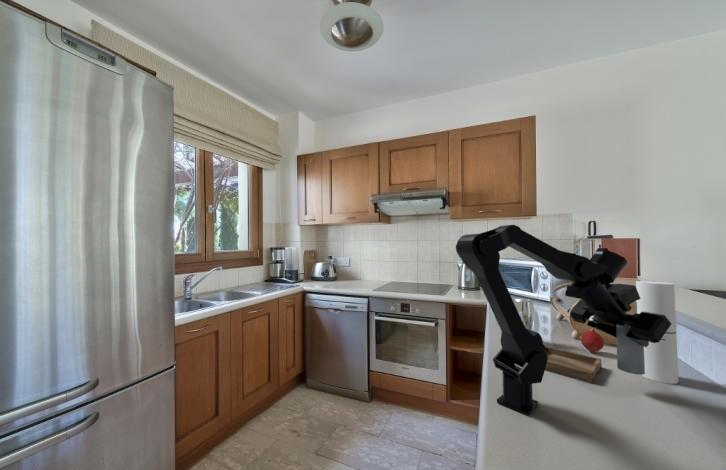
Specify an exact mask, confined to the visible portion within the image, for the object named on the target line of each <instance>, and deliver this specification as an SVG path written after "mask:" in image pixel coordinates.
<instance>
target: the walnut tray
mask: <svg viewBox="0 0 726 470" xmlns="http://www.w3.org/2000/svg"><path fill="white" fill-rule="evenodd" d="M545 347H546V348H547V349H548V351H546V353H547V357H548V361H547V364H546V368H545V371H546V372H550V373H554V374H557V375H560V376H564V377H568V378H571V379H575V380H577V381H582V382H584V383H588V384H590V385H591V384H593V382H594V381H595V379H596V378H597V376H598V375H599V373H600V371H602V359H601V358H598V357H593V356H589V355H585V354H581V353H577V352H572V351H569V350H565V349H561V348H554V347H551V346H547V345H545Z"/></svg>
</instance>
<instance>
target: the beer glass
mask: <svg viewBox="0 0 726 470" xmlns="http://www.w3.org/2000/svg"><path fill="white" fill-rule="evenodd" d="M512 300H513V302H514V304H515V306H516V308H517V311H518V313H519V315H520V317H521V319H522V322H523V324H524V326H525V328H526V329H529V330H532V331H533V326H534V320H535V307H534V306H535V305H534V301H533V300H532V299H529V298H520V297H518V298H512Z"/></svg>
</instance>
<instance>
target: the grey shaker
mask: <svg viewBox="0 0 726 470" xmlns="http://www.w3.org/2000/svg"><path fill="white" fill-rule="evenodd" d="M630 314H631V313H630ZM633 314H634V313H632V314H631V315H633ZM629 328H630V327H628V324H626V325H625V326H624V327H622V326H618V325H617V326H616V337H615V339H616V363H617V364H616V365H617V369H618V370H619V371H623V372H625V373H628V374H633V375H638V376H639V375H640V376H642V375H643V374H645V362H644V346H642V345H640V344H638V343H637V342H635V341H633V340H632V339H630V338H628V337H626V334H627V333H628V331H629V330H630V329H629Z"/></svg>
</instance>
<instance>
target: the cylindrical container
mask: <svg viewBox="0 0 726 470" xmlns="http://www.w3.org/2000/svg"><path fill="white" fill-rule="evenodd" d="M635 286H636V288H637V291H638V293H639V296H640V299H639V300H636V313H638V314H640V313H641V312H651V313H656V314H661V315H665V316H666V317H667V319H668V320H669V321H670V322H671V325H670V327H669V328H668V330H667V331H666V333H665V334H664V336H663V337H662V338H661V340H660V341H659V342H657V343H652V342H649V345H648V346H647V347H644V362H645V374H643V375H641V377H644V378H645V379H647V380H652V381H654V382H657V383H658V382H659V383H662V384H668V385H671V384H672V385H677V384H679V366H678V365H679V364H678V360H679V359H678V341H677V340H678V338H677V337H678V336H677V320H676V319H677V317H676V316H677V315H676V295H675V294H676V291H675V283H672V282H667V281H666V282H664V281H654V280H653V281H651V280H636V281H635Z"/></svg>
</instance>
